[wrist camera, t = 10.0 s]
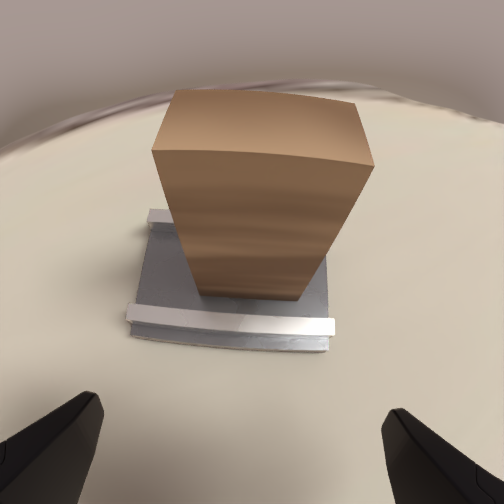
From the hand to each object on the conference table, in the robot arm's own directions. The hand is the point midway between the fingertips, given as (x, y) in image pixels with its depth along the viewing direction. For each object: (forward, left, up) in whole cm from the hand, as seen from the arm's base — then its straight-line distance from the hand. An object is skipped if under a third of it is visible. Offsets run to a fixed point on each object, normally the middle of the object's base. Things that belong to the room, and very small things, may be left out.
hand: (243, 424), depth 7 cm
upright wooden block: (+7, -5, -9) cm, 12 cm away
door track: (+7, -5, -10) cm, 13 cm away
